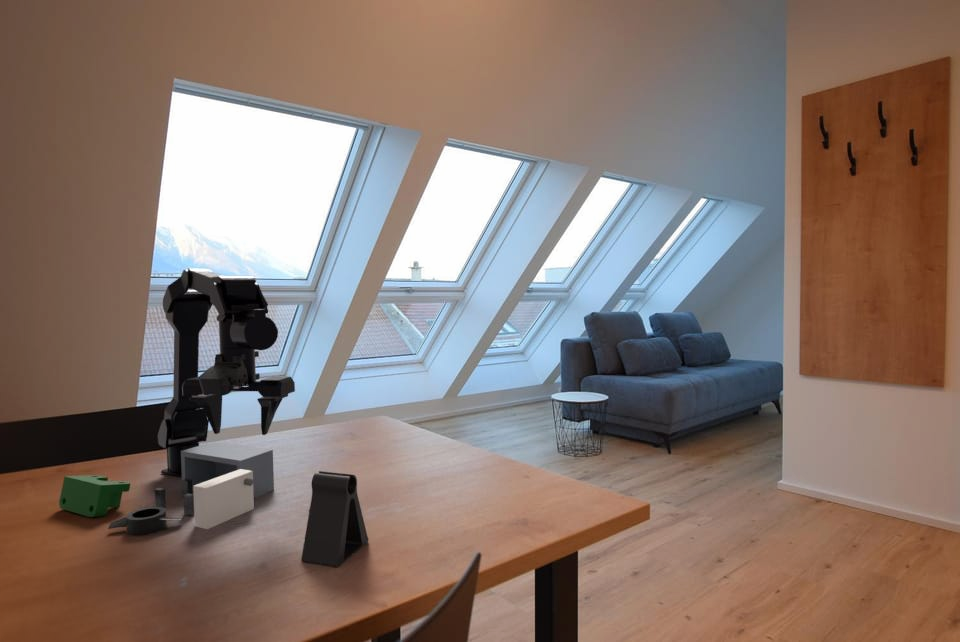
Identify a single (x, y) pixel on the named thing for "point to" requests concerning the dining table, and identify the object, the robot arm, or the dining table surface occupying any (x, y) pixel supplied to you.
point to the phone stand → (333, 520)
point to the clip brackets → (187, 497)
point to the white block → (223, 498)
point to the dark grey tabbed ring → (144, 521)
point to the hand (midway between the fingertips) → (240, 434)
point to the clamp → (91, 494)
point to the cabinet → (228, 464)
